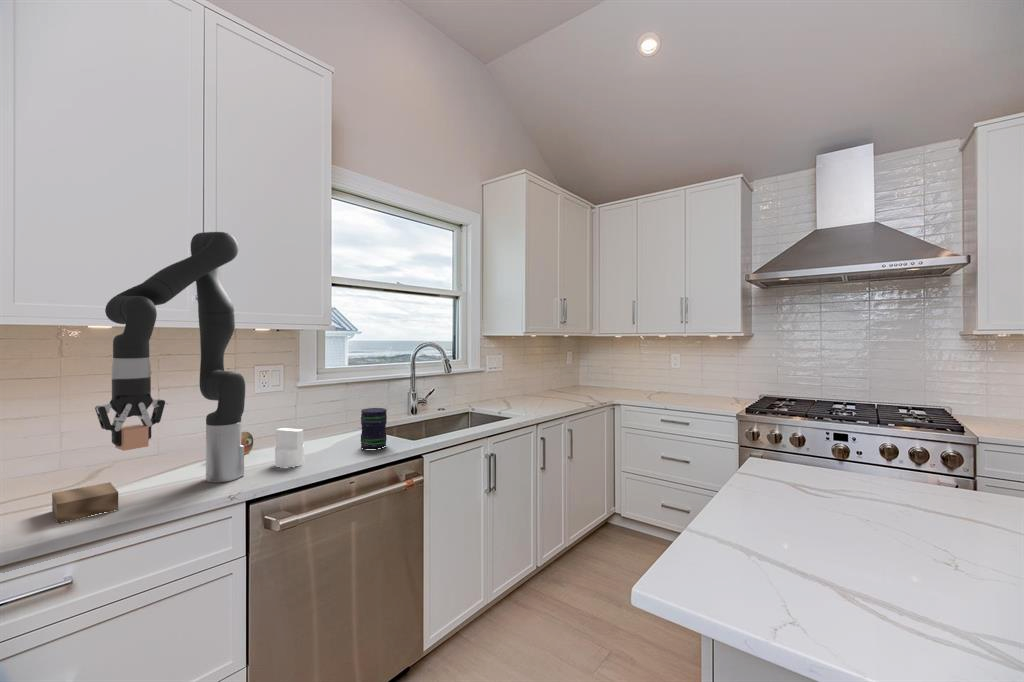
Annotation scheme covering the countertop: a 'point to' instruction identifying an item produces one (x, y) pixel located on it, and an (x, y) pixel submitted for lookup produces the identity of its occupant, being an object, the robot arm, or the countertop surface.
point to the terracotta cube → (134, 437)
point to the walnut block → (84, 502)
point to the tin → (246, 441)
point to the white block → (289, 447)
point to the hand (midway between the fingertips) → (131, 443)
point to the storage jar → (373, 428)
